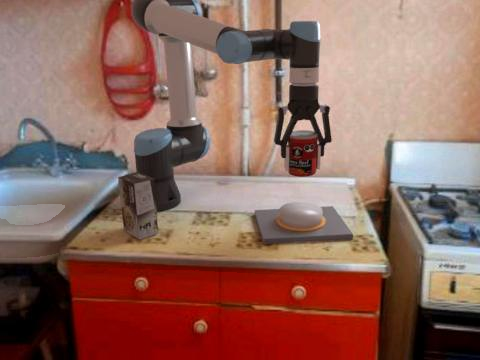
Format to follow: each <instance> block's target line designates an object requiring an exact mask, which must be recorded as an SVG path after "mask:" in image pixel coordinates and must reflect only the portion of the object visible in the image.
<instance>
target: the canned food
mask: <svg viewBox="0 0 480 360" xmlns="http://www.w3.org/2000/svg"><path fill="white" fill-rule="evenodd" d="M317 143H319V142H318V136H317V134H316V133H315V132H314V130H308V129H307V130H304V129H303V130H302V129H300V130H293V132H292V134H291V135H290V138H289V141H288V143H287V145H288V146H289V171H287V172H288V174H289V175H291V176H293V177H297V178H300V177H301V178H304V177H305V178H307V177H312V176H314V175H315V174H316V173H317V170H318V169H317Z"/></svg>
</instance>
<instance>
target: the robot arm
mask: <svg viewBox="0 0 480 360" xmlns="http://www.w3.org/2000/svg"><path fill="white" fill-rule="evenodd" d="M130 9H131V10H130V12H131V13H130V14H131V17H132V20H133V21H134V24H135V25H137V26H138V28H140V29H141V30H143V31H146V32H149V33H151V34H154V35H157V36H158V39H160V40H161V41H162V43H163V48H164V49H163V50H164V60H165V72H166V81H167V82H166V83H167V93H168V95H167V96H168V105H169V116H170V119H168V121H167V122H166V128H164V127H157V128H150V129H146V130H143V131H141V132H140V133H137V135H136V136H135V137H134V138H133V152H134V159H135V171H136V172H139V173H141V174H144V175H146V176H149V177H151V178H154V184H155V197H156V210H157V212H158V211H159V212H160V211H166V210H170V209H174V208H176V207H178V206H179V205H180V204H181V202H182V199H181V198H182V197H181V193H180V190H179V188H178V185H177V182H176V180H175V174H174V172H175V171H174V168H176V167H179V166H183V165H186V164H189V163H193V162H197V161H199V160H200V159H202V158H204V157H205V156H206V155H207V154H208V152H209V150H210V148H211V137H210V133H209V132H208V130H207V128H206V126H204V125H203V121H202V120H201V119H200V118H199V117H198V113H197V104H196V103H197V102H196V101H197V100H196V91H195V88H196V86H195V77H194V74H195V73H194V60H193V50H192V49H193V47H192V46H195V47H198V48H200V49H203V50H206V51H208V52H211V53H213V54H216V55H217V56H218V58H220V59H221V62H223V63H226V64H232V65H238V64H239V65H240V64H244V63H251V62H257V61H258V62H259V61H267V60H268V61H269V60H289V78H288V79H289V83H290V85H289V87H288V89H289V90H288V91H289V93H288V96H289V98H288V103H287V104H286V105H285V106H280V105H279V106H277V107H276V110H277V119H276V120H277V121H276V127H275V131H274V132H275V133H274V139H273V141H274V144H275V145H277V146H280V156H281V158H282V159H283V161H284V164H283V165H284V166H283V167H284V169H285V171H286V172H288V171H289V146H288V141H289V138H290V135H291V134H292V132H293V131H294V129H295V128H296V127H295V126H296V124H297V123H298V121H310V124H311V128H312V129H313V131H314V132H315V133H316V134H317V136H318V142H317V169H316V170H321V157H324V156H325V146H326V145H327V144H330V143H332V141H333V139H332V138H333V137H332V133H331V132H332V131H331V123H330V116H329V115H330V110H331V107H330V106H329V105H327V104H324V105H323V104H320V101H319V89H320V88H319V84H318V83H319V80H320V48H321V47H320V46H321V25H320V22H318V21H316V20H298V21H297V20H296V21H294V20H293V21H292V22H290V24H289V29H288V28H287V29H275V28H274V29H270V28H261V29H257V30H256V29H253V30H243V29H239V28H237V27H233V26H231V25H228V24H225V23H222V22H219V21H216V20H213V19H210V18H208V17H204V16H203V13H202V12H203V10H202V7H201V4H200V1H199V0H132V3H131V8H130ZM287 111H289V113H290V114H291V116H290V118H289V121H288V124H287V126H286V128H285V131H284V134H283V128H284V119H285V115H286V114H287ZM318 111H319V112H320V113H321V117H322V118H321V120H322V125H323V132H324V137H323V134H322V132H321V129H320V126H319V125H318V124H319V123H318V121H317V118H316V113H317V112H318ZM282 134H283V136H282ZM281 138H282V139H281Z"/></svg>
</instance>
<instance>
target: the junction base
mask: <svg viewBox="0 0 480 360" xmlns="http://www.w3.org/2000/svg"><path fill="white" fill-rule="evenodd" d="M253 211H254V212H253V213H254V214H253V215H254V218H255V221H256V225H257V228H258V231H259V234H260V238H261V242H262V244H263V245H269V244H270V245H271V244H289V243H306V242H310V243H311V242H320V241H321V242H322V241H323V242H324V241H327V242H328V241H341V240H342V241H343V240H345V241H346V240H353V239H354V233H353V232H352V231H351V229H350V227H348V225H347V224H346V222H345V220H343V218H342V216H340V214H339V213H338V211H337V210H336V208H335V207H334V206H333V205H331V206H329V205H328V206H319V205H318V204H315V203H312V202H305V201H295V202H288V203H285V204H283V205H281V206H279V208H270V209H254V210H253Z"/></svg>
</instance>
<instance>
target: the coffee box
mask: <svg viewBox="0 0 480 360" xmlns="http://www.w3.org/2000/svg"><path fill="white" fill-rule="evenodd" d="M117 181H118V189H119V199H120V207H121V215H122V225H123V231H125V232H126V233H128V234H129V235H131V236H133V237H135V238H136V239H138V240H143V239H145V238H148V237H152V236H154V235H155V236H156V235H157V234H159V225H158V224H159V223H158V214H157V212H158V211H157V210H156V197H155V184H154V178H151V177H149V176H146V175H144V174H141V173H139V172H131V173H128V174H125V175H121V176H118V177H117Z"/></svg>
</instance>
